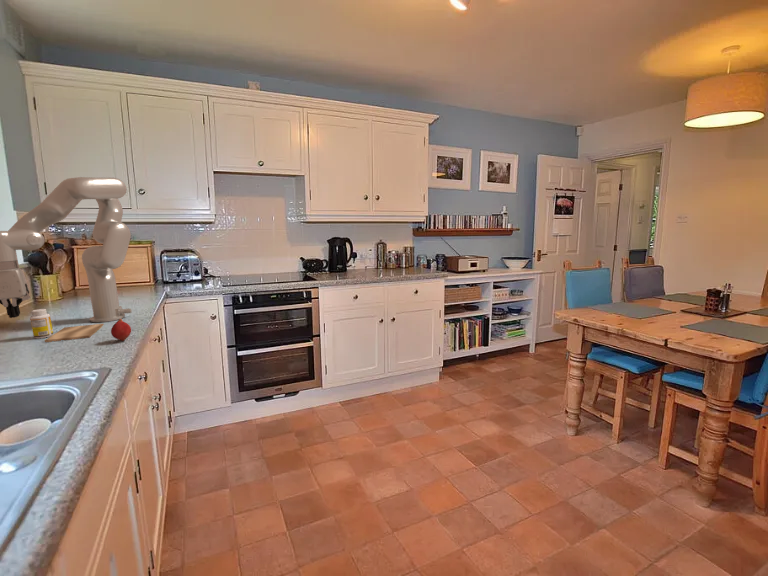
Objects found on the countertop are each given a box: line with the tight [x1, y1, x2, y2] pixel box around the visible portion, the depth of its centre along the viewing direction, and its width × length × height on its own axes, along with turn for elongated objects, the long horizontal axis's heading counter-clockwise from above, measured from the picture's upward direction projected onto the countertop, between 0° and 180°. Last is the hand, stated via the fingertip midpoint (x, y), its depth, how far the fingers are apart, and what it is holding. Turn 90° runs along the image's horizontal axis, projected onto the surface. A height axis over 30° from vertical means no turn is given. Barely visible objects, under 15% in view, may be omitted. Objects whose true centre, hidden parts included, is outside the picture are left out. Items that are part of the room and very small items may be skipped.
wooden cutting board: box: [44, 323, 104, 343], centre depth 147 cm, size 13×18×1 cm
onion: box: [110, 318, 132, 342], centre depth 136 cm, size 6×6×8 cm
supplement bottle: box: [29, 308, 54, 339], centre depth 143 cm, size 6×6×10 cm
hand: (14, 316), depth 139 cm, fingers closed
